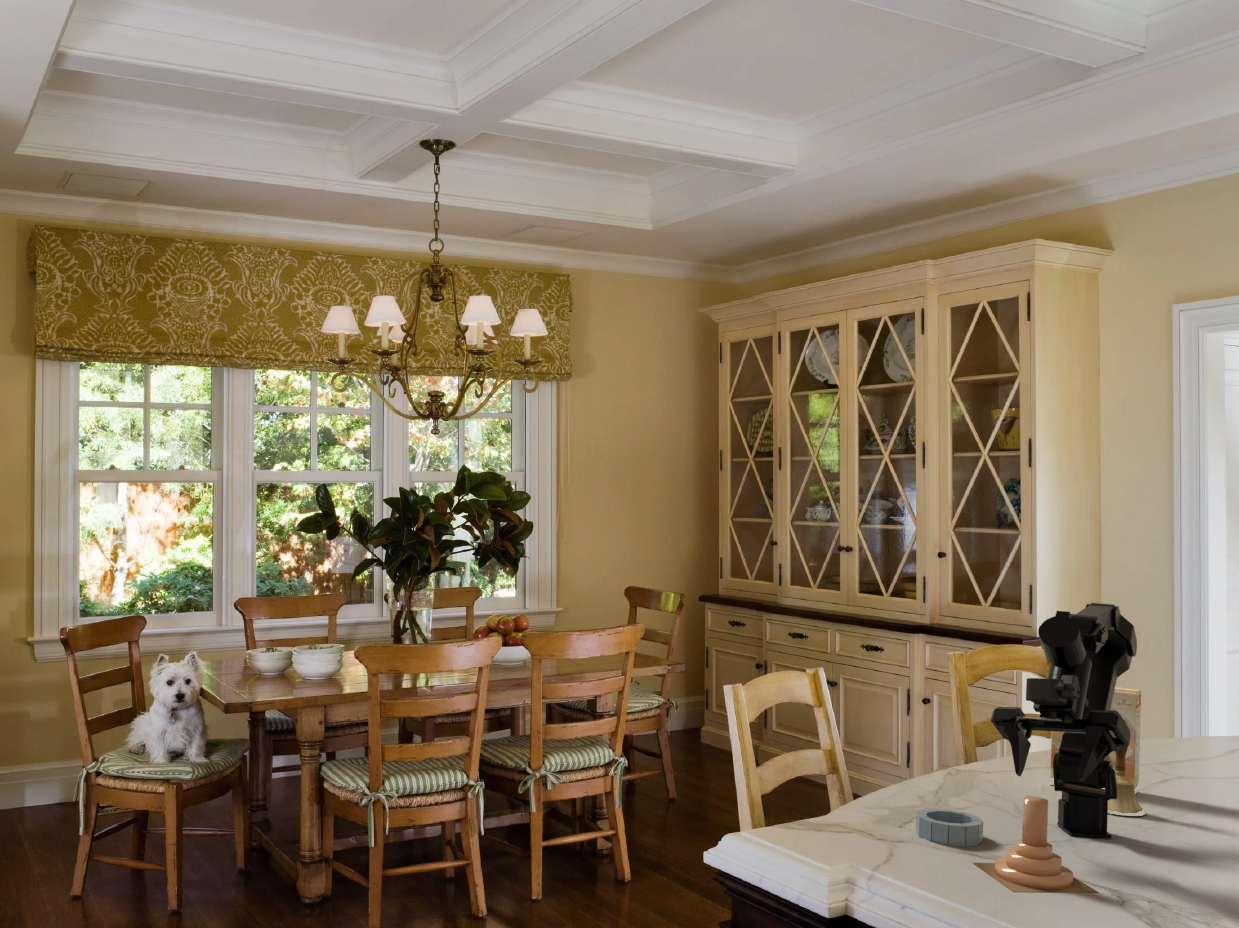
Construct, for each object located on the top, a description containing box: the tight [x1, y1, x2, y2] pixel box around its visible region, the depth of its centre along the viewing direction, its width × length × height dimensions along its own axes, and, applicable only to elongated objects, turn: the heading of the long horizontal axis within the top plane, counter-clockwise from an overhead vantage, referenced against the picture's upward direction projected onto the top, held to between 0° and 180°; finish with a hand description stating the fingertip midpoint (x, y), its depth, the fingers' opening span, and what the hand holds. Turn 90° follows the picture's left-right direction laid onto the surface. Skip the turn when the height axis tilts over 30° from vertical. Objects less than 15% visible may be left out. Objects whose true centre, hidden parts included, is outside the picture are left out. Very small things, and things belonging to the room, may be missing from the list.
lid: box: [994, 796, 1074, 889], centre depth 149 cm, size 10×10×10 cm
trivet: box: [972, 862, 1100, 894], centre depth 149 cm, size 12×12×1 cm
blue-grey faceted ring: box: [915, 808, 984, 847], centre depth 167 cm, size 10×10×4 cm
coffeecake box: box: [1049, 686, 1142, 790], centre depth 208 cm, size 15×7×20 cm, turn 58°
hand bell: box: [1108, 720, 1143, 813], centre depth 191 cm, size 8×8×16 cm
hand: (1048, 777), depth 157 cm, fingers open, 9 cm apart
